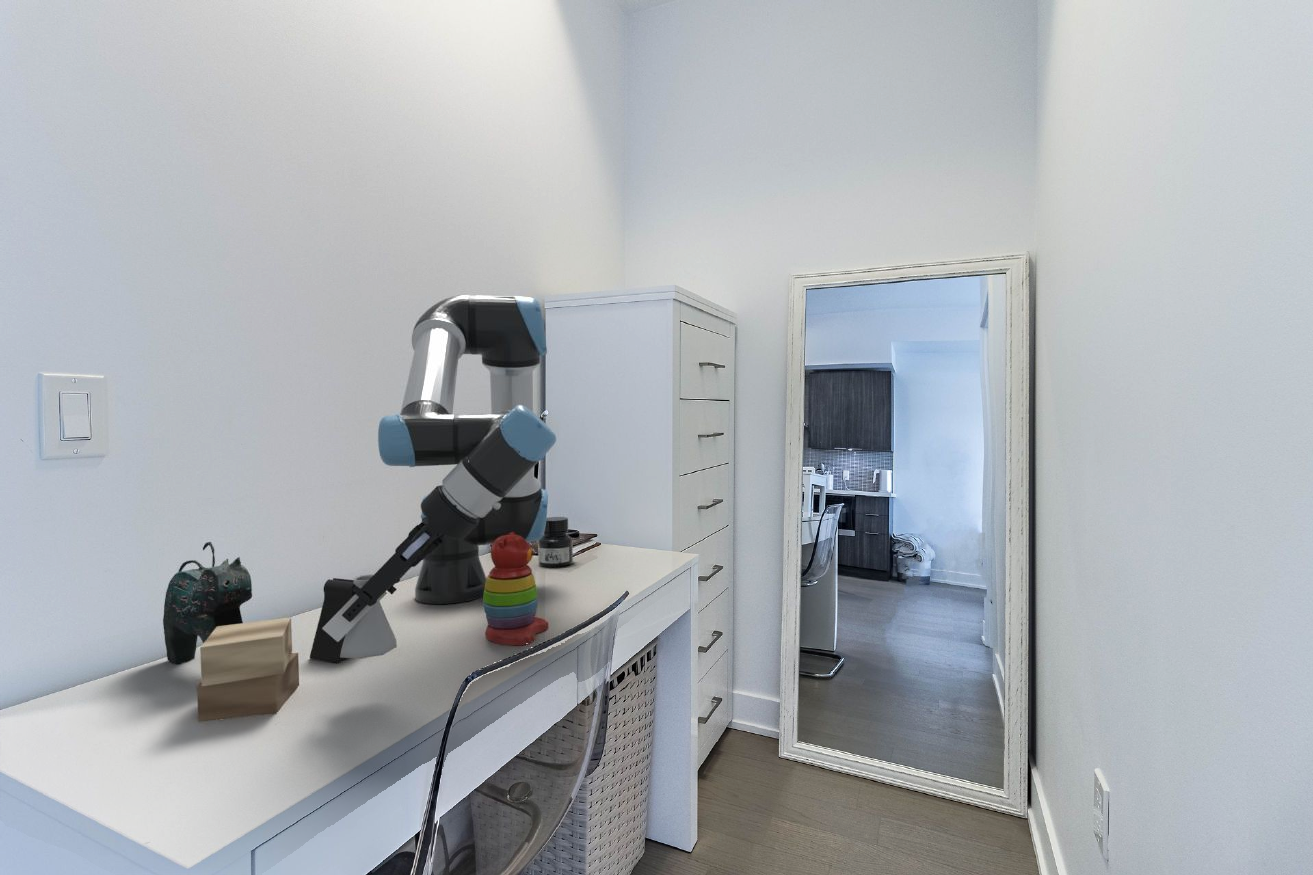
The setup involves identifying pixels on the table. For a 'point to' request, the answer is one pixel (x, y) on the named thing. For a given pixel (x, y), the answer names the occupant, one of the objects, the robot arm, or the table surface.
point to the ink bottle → (555, 544)
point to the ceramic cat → (202, 604)
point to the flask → (369, 632)
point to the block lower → (248, 695)
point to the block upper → (246, 651)
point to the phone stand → (334, 600)
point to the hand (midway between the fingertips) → (338, 627)
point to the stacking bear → (511, 593)
